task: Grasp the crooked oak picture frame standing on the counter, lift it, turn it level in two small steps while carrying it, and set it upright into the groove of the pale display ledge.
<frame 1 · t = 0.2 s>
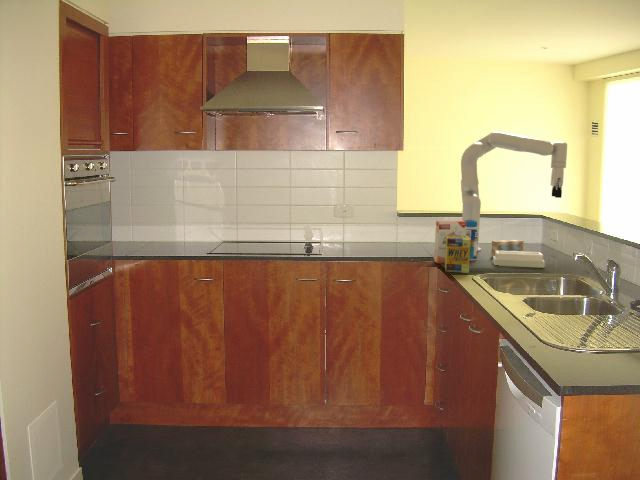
hand: (556, 197, 329), 31 cm above the countertop, fingers open, 9 cm apart
picture frame: (506, 257, 318), on the countertop
protein box: (456, 270, 283), on the countertop
display ledge: (518, 264, 297), on the countertop
beverage bottle: (468, 259, 311), on the countertop
cracker box: (449, 263, 301), on the countertop
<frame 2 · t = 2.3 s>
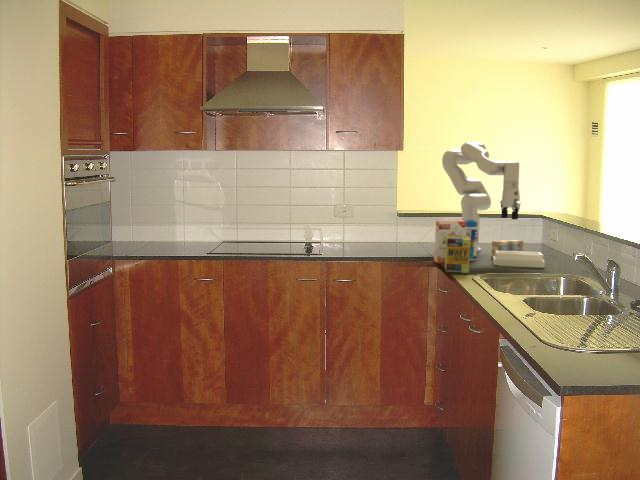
hand: (509, 218, 315), 21 cm above the countertop, fingers open, 9 cm apart
nothing on the countertop moved.
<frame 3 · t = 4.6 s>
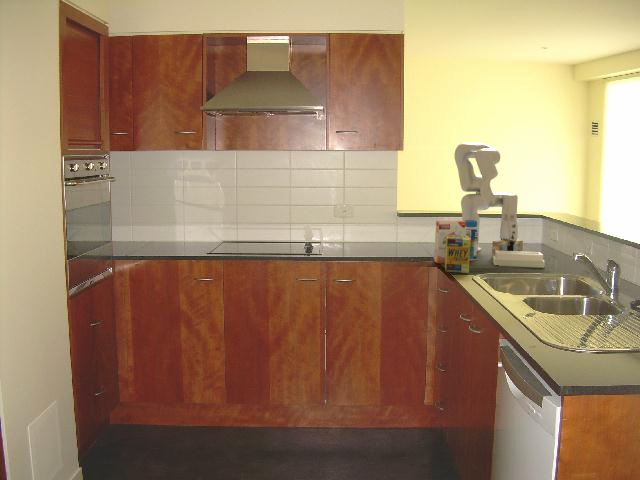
hand: (507, 251, 318), 3 cm above the countertop, fingers closed on picture frame, 4 cm apart
picture frame: (506, 257, 318), on the countertop, touching gripper
everything else where it was.
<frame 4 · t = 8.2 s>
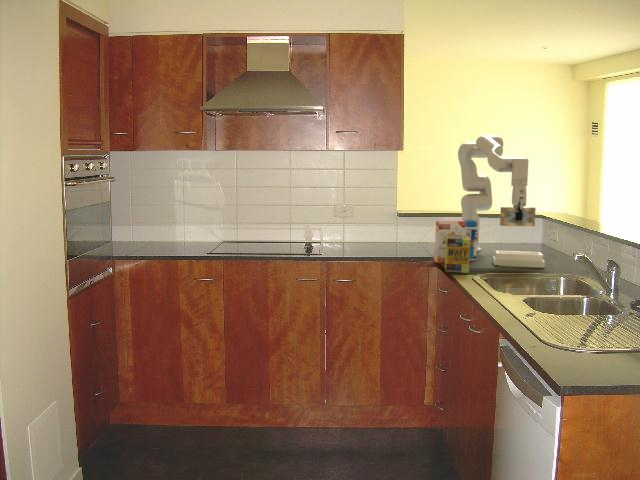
hand: (517, 219, 301), 22 cm above the countertop, fingers closed on picture frame, 4 cm apart
picture frame: (517, 225, 301), point 19 cm above the countertop, touching gripper
everything else where it was.
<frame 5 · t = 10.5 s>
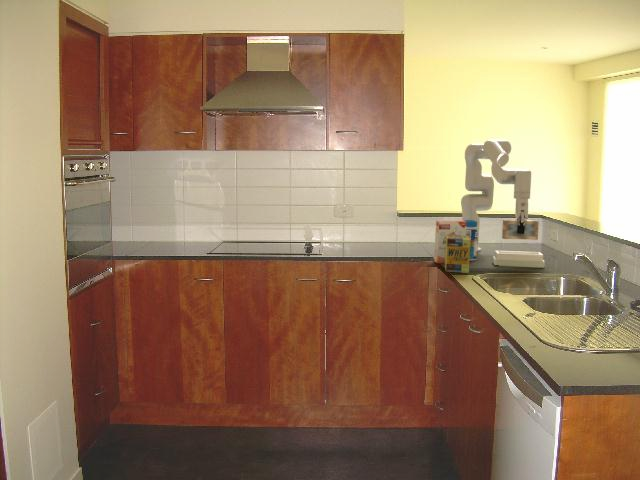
hand: (519, 232, 295), 16 cm above the countertop, fingers closed on picture frame, 4 cm apart
picture frame: (519, 238, 295), point 13 cm above the countertop, touching gripper
everything else where it was.
when the fingers open (7 cm above the countertop, at t = 12.3 s): picture frame drops 1 cm, resting on display ledge.
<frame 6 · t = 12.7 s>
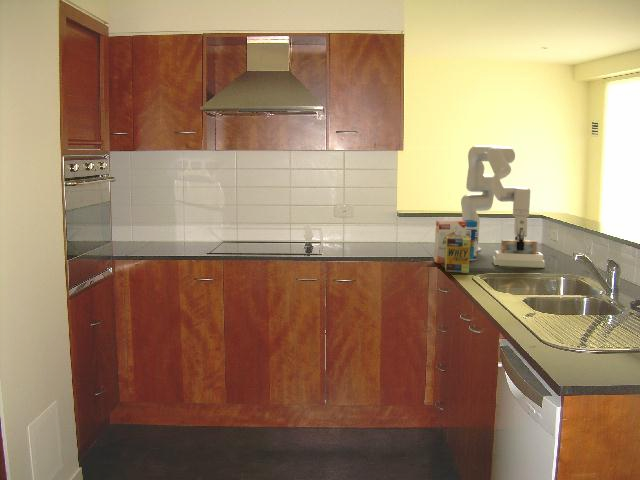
hand: (518, 248, 296), 8 cm above the countertop, fingers open, 8 cm apart
picture frame: (518, 258, 297), point 3 cm above the countertop, touching display ledge
everything else where it was.
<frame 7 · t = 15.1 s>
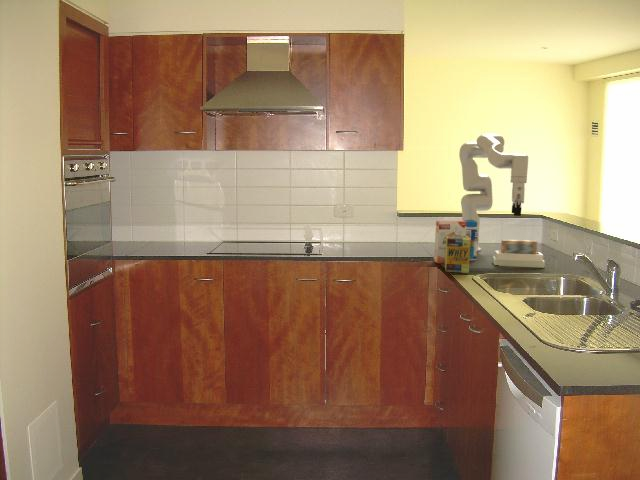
hand: (516, 214, 299), 24 cm above the countertop, fingers open, 9 cm apart
nothing on the countertop moved.
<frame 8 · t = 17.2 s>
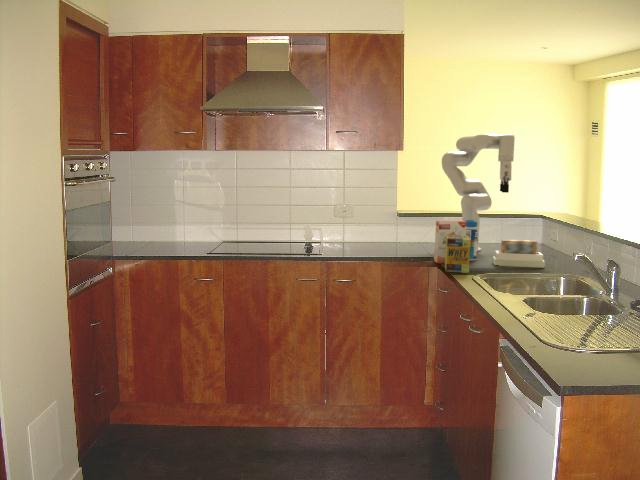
hand: (504, 191, 315), 34 cm above the countertop, fingers open, 9 cm apart
nothing on the countertop moved.
at the end: picture frame 0.1 cm off-centre on the display ledge, point 3.0 cm above the display ledge's base; picture frame tilted 0°; the gripper is holding nothing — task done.
